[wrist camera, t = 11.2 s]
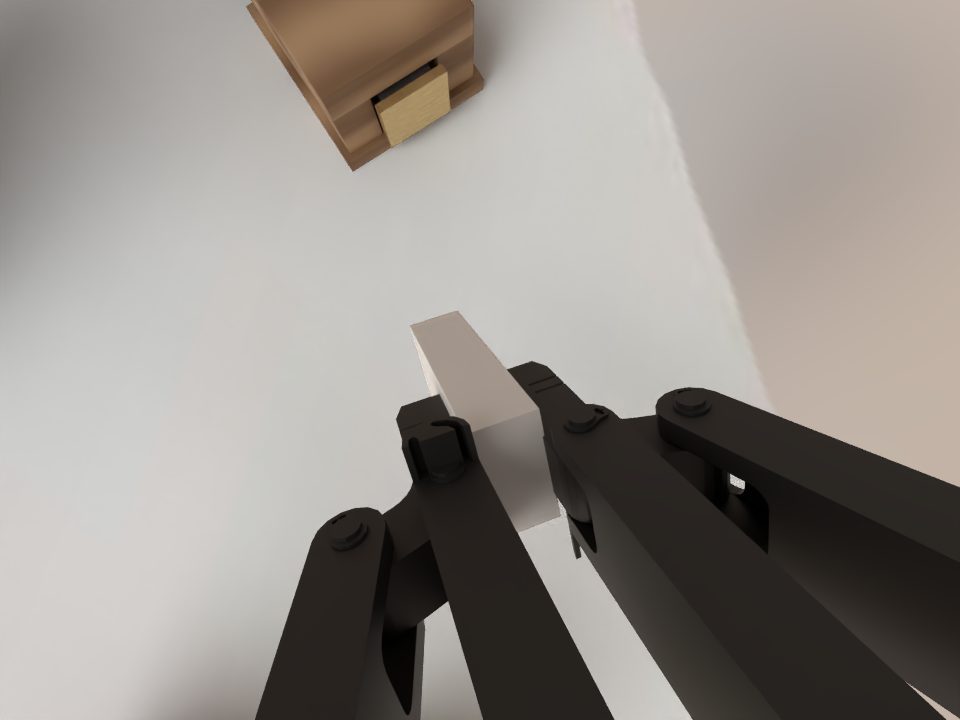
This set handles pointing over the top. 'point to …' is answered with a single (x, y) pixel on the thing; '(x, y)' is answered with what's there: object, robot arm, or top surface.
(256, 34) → the top surface
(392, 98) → the shaft
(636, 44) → the top surface
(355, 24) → the bearing block
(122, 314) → the top surface
